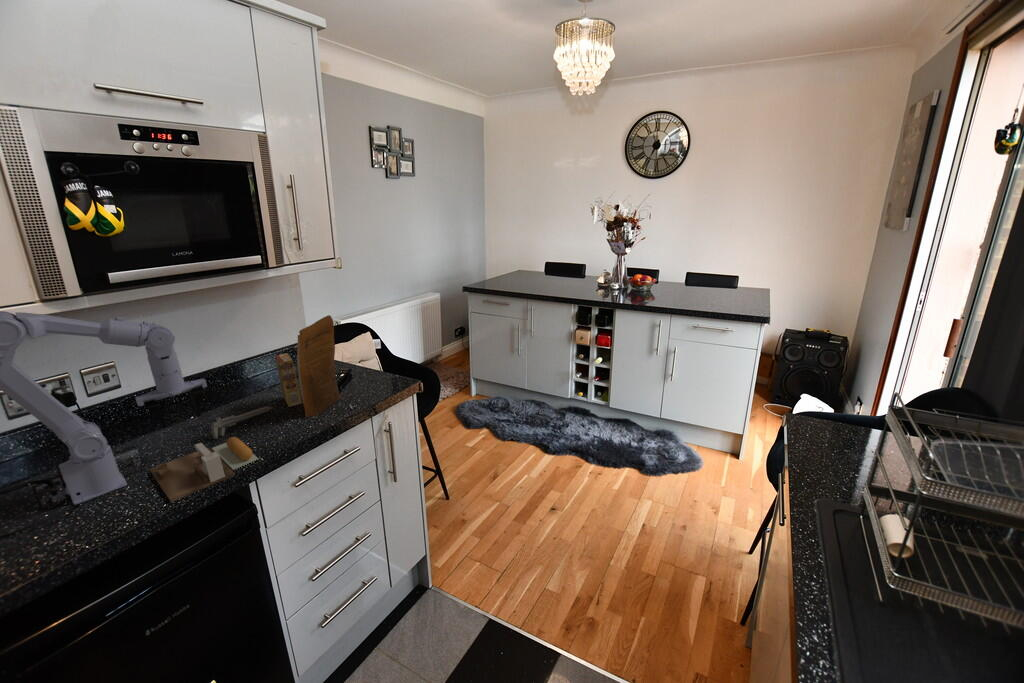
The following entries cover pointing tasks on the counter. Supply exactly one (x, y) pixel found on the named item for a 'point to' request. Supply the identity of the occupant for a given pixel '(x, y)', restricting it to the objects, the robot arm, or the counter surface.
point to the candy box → (288, 379)
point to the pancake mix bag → (317, 366)
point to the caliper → (233, 421)
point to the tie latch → (211, 463)
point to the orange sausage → (239, 448)
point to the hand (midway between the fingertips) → (181, 421)
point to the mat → (232, 457)
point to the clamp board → (185, 476)
